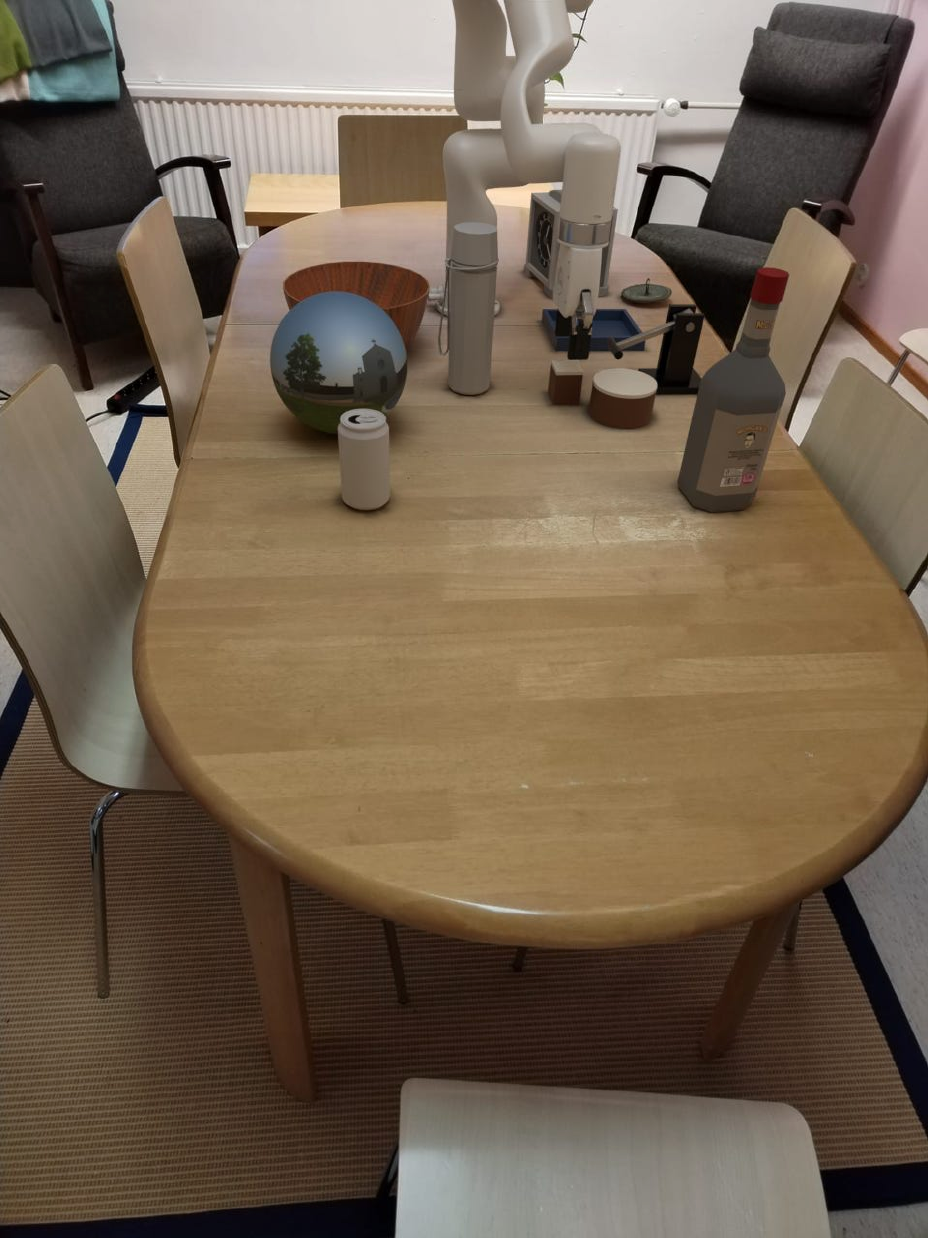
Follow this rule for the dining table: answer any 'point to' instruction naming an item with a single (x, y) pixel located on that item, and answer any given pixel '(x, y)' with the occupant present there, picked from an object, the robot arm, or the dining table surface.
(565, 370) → the cake slice
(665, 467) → the dining table surface
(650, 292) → the lid
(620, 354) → the lever
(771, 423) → the liquor
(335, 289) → the bowl
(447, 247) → the robot arm
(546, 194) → the alarm clock
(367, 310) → the decorative sphere
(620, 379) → the cake
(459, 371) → the water bottle
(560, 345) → the tray
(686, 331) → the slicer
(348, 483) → the beverage can
